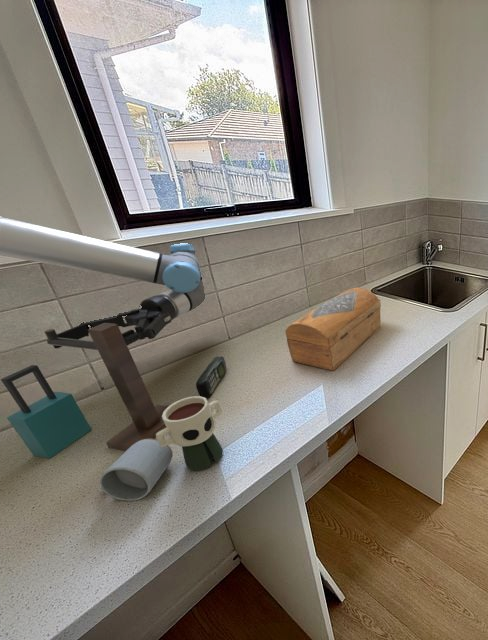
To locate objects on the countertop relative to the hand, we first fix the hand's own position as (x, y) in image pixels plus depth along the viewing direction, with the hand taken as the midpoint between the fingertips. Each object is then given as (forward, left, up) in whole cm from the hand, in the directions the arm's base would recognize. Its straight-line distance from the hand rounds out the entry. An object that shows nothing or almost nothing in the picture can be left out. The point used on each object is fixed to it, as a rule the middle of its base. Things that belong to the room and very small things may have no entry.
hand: (78, 346), depth 72 cm
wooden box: (+40, +40, -18) cm, 59 cm away
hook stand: (+9, -4, -18) cm, 20 cm away
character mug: (+33, -9, -18) cm, 38 cm away
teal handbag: (0, -10, -18) cm, 20 cm away
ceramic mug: (+25, -16, -18) cm, 34 cm away
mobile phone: (+16, +14, -18) cm, 28 cm away
